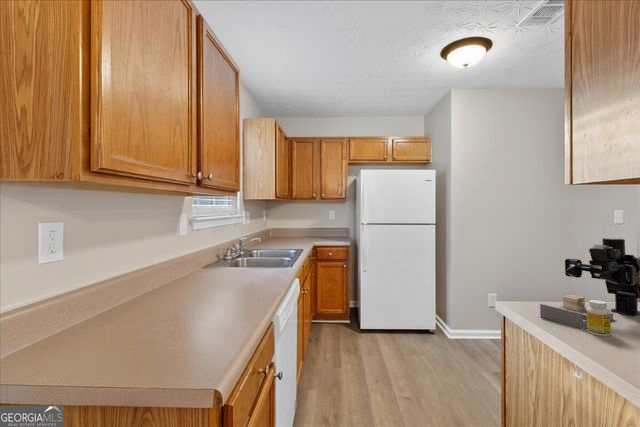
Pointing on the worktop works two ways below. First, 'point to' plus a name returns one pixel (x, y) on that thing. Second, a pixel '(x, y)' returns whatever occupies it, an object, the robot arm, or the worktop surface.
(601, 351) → the worktop surface
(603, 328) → the supplement bottle
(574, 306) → the maple block
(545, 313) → the trap board
